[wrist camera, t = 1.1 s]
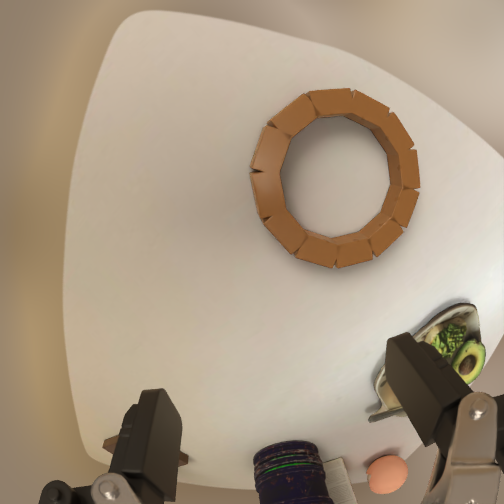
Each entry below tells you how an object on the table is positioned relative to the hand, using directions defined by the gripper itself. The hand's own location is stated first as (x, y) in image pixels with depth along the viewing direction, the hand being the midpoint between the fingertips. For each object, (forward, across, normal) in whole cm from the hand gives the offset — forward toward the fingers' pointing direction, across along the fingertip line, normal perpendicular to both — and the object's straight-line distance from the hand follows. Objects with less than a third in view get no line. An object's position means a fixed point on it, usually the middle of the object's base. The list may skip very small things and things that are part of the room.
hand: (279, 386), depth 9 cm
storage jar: (+16, +2, +33) cm, 37 cm away
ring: (+16, -8, -4) cm, 18 cm away
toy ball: (+16, -15, +46) cm, 50 cm away
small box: (+16, -5, +42) cm, 45 cm away
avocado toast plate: (+16, -20, +21) cm, 33 cm away
